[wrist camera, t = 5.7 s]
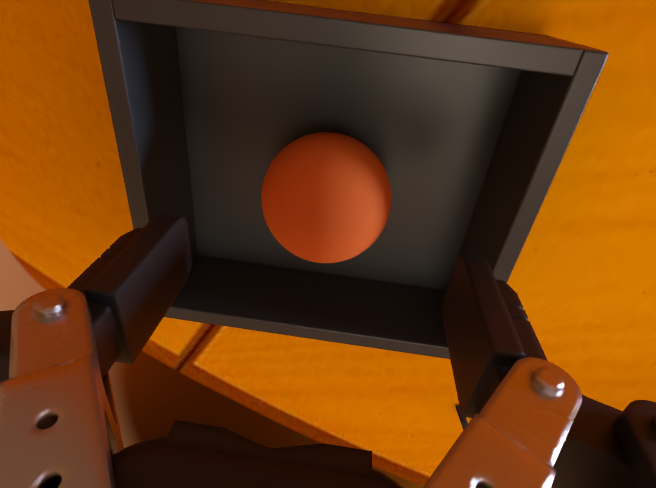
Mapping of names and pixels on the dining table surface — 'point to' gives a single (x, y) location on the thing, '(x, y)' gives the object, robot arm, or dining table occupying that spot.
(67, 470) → the robot arm
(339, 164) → the ball
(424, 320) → the bin
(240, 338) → the dining table surface
